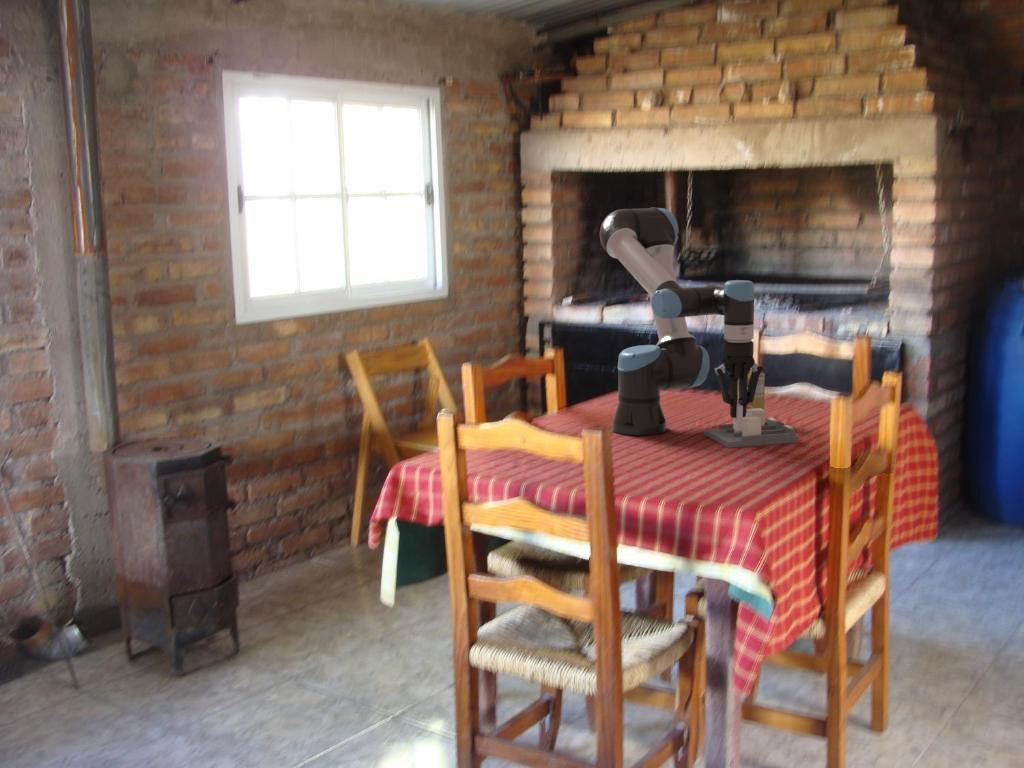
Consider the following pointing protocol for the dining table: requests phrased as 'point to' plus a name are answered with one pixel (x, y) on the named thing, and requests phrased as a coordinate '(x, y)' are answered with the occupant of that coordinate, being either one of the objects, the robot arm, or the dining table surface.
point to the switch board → (769, 435)
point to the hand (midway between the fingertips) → (737, 429)
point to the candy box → (756, 392)
